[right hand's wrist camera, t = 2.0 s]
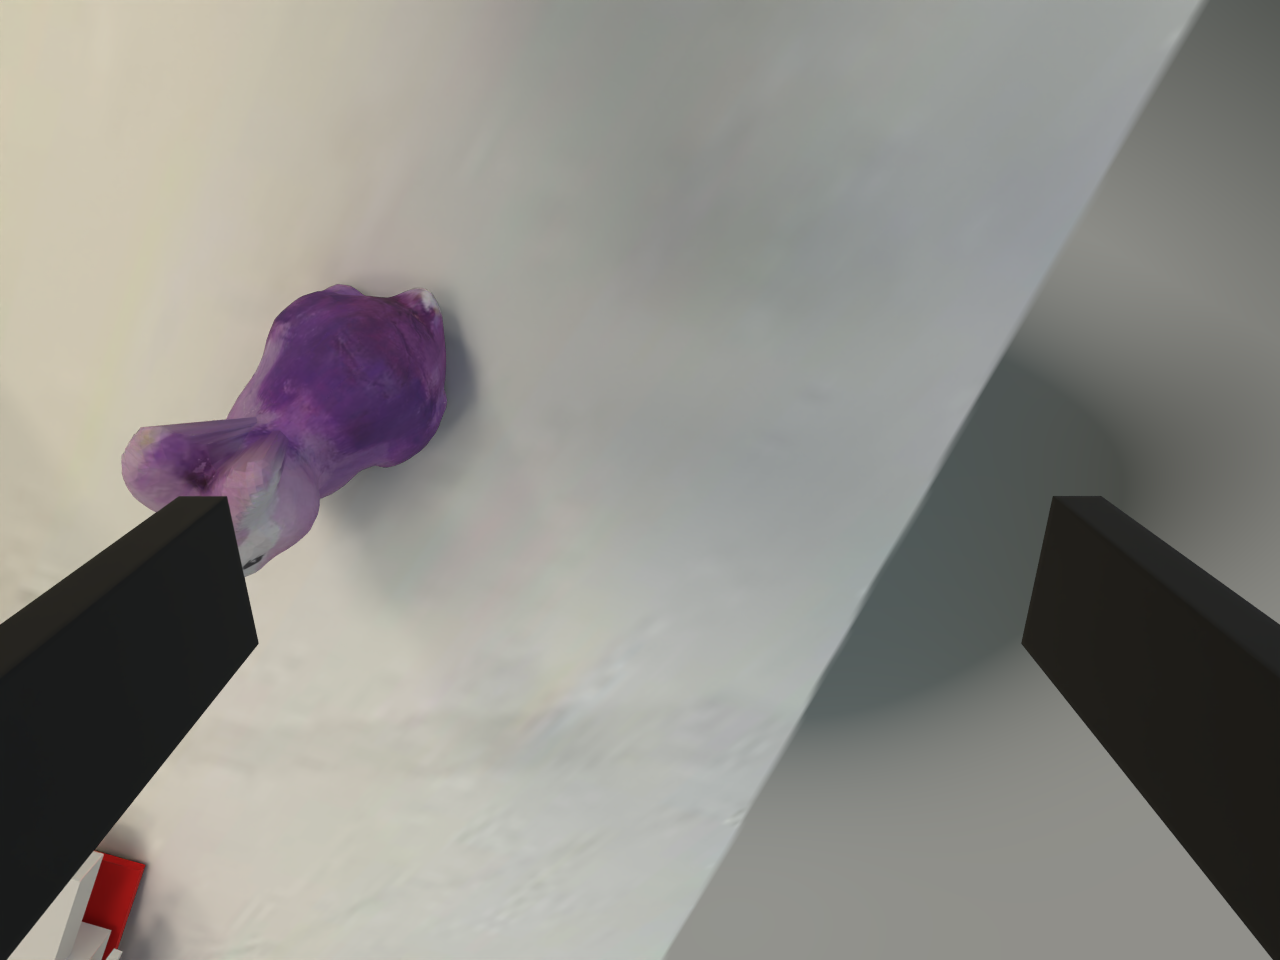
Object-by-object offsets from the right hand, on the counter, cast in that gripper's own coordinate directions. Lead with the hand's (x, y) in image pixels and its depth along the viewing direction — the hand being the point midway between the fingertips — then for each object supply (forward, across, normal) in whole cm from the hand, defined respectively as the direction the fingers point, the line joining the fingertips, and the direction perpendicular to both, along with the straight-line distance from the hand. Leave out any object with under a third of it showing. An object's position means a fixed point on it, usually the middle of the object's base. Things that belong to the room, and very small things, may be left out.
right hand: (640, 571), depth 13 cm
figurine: (+26, -13, -4) cm, 30 cm away
